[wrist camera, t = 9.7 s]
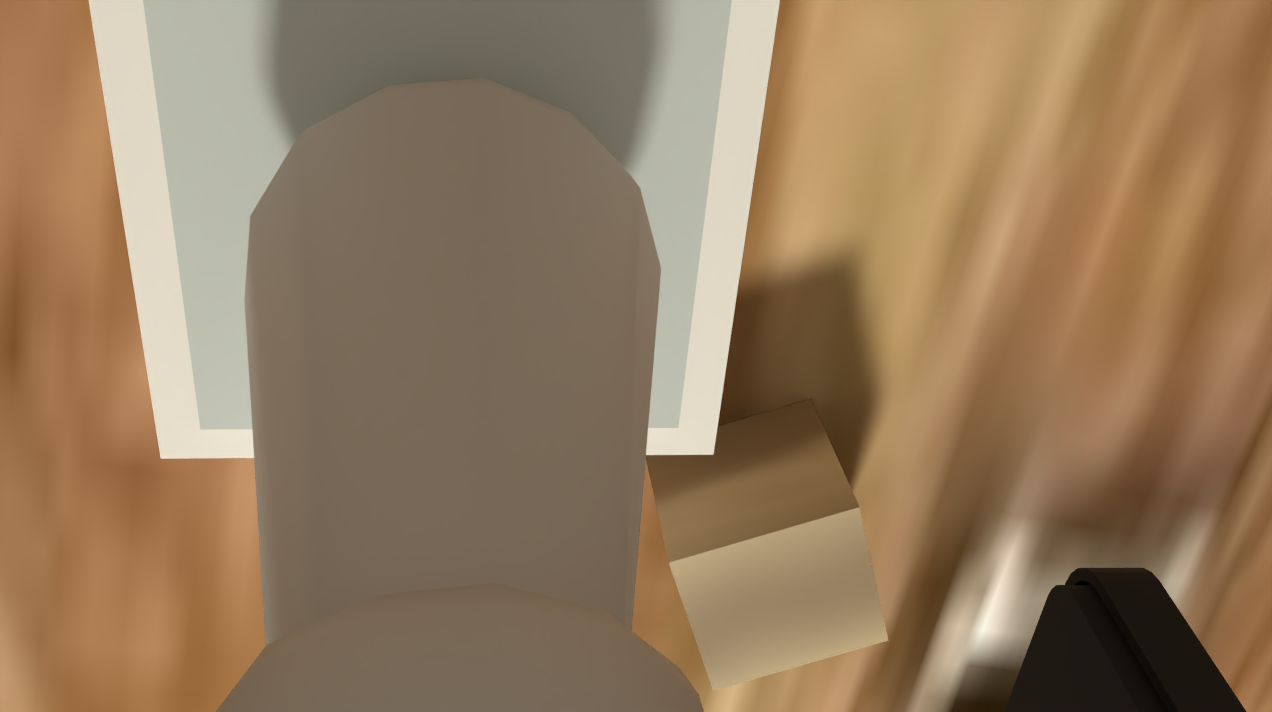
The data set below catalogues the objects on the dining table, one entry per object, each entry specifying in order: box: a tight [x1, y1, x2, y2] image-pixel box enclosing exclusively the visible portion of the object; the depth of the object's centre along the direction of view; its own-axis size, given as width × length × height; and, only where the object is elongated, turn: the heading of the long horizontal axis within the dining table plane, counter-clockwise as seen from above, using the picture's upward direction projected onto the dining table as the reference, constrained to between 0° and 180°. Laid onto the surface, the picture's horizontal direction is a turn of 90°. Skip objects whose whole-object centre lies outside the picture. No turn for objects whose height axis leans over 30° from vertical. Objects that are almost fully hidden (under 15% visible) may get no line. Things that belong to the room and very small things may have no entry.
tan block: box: [646, 399, 888, 691], centre depth 26 cm, size 4×4×4 cm
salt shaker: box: [216, 78, 704, 712], centre depth 13 cm, size 6×6×13 cm
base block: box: [89, 0, 780, 458], centre depth 21 cm, size 10×10×4 cm
